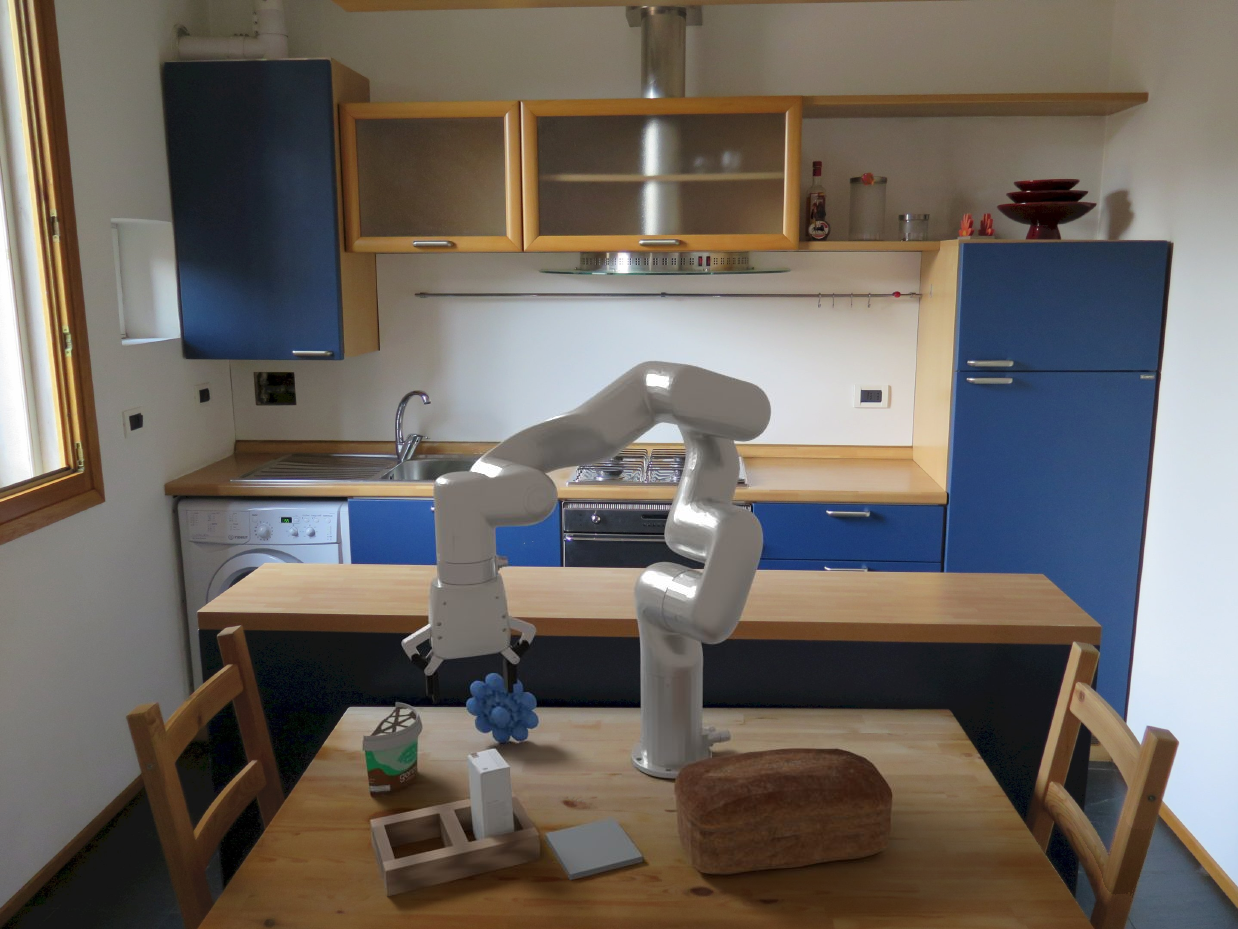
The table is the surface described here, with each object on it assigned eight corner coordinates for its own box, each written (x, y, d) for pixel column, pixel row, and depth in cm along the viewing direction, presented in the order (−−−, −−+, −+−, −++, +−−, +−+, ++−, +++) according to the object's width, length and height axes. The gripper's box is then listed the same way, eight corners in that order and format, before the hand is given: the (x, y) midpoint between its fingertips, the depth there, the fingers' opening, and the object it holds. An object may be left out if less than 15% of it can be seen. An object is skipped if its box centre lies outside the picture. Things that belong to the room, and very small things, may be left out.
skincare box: (516, 850, 133) (513, 766, 130) (484, 859, 131) (480, 774, 128) (501, 827, 138) (498, 746, 136) (469, 835, 136) (466, 753, 134)
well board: (513, 812, 142) (512, 789, 141) (540, 859, 131) (539, 835, 130) (371, 843, 135) (369, 820, 134) (387, 896, 123) (385, 871, 123)
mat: (613, 822, 139) (613, 817, 139) (642, 861, 130) (642, 856, 130) (545, 838, 135) (545, 833, 135) (570, 880, 126) (570, 874, 126)
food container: (405, 805, 144) (401, 741, 142) (365, 801, 145) (361, 737, 143) (437, 763, 156) (434, 703, 154) (400, 759, 157) (397, 700, 155)
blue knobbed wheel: (463, 756, 158) (460, 685, 156) (470, 735, 165) (467, 667, 162) (537, 755, 158) (535, 684, 156) (540, 735, 165) (538, 667, 162)
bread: (665, 829, 138) (665, 747, 135) (858, 807, 143) (861, 728, 140) (691, 891, 124) (691, 801, 122) (902, 864, 129) (907, 777, 127)
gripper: (527, 554, 133) (531, 674, 137) (395, 567, 128) (402, 691, 132) (540, 570, 126) (543, 697, 130) (400, 585, 121) (408, 716, 125)
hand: (472, 694), depth 131 cm, fingers open, 9 cm apart
